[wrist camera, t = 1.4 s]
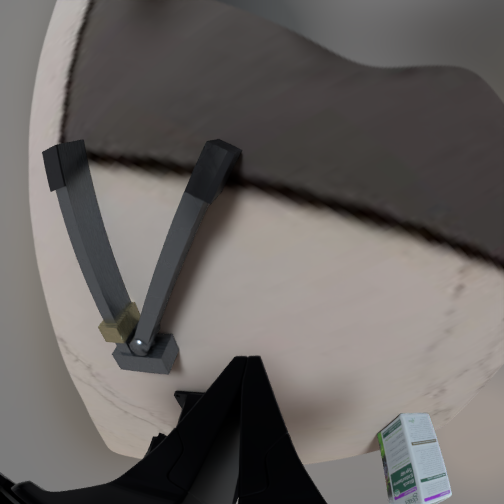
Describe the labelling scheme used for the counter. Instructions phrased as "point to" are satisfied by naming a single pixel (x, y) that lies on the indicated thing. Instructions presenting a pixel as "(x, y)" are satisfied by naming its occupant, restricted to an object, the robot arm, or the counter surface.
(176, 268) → the tongs arm
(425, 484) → the syrup box
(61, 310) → the counter surface
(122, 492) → the robot arm
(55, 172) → the tongs
